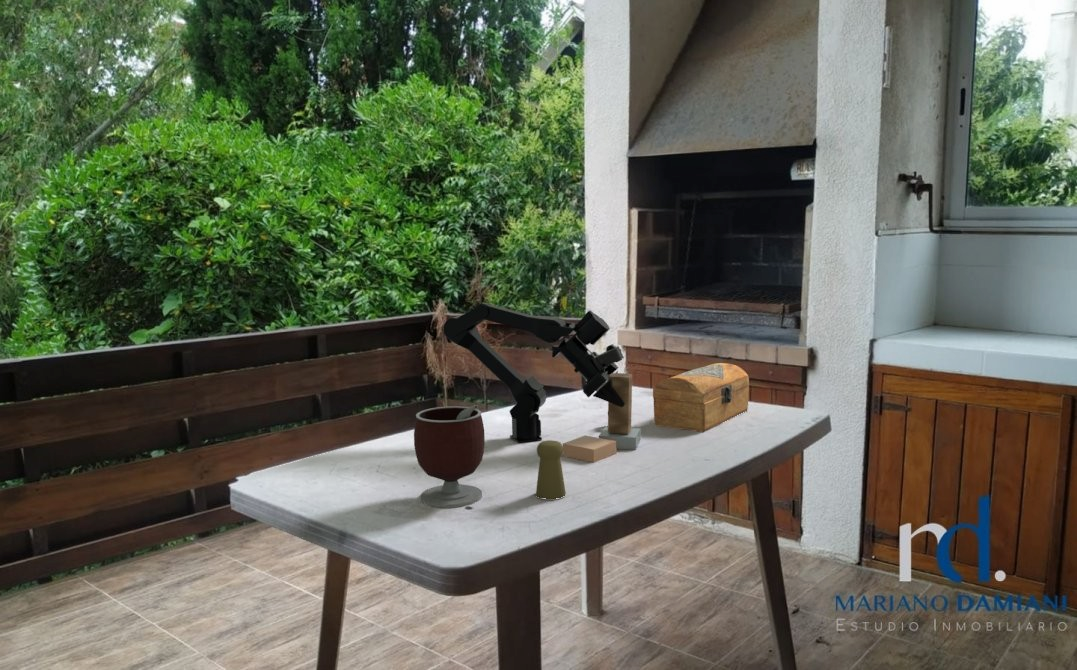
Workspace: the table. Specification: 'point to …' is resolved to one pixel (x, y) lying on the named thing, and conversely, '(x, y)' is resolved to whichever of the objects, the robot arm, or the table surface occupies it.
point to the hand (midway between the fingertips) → (625, 403)
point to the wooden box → (701, 397)
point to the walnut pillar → (621, 415)
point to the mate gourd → (449, 452)
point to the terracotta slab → (589, 448)
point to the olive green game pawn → (550, 470)
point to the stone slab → (623, 438)
